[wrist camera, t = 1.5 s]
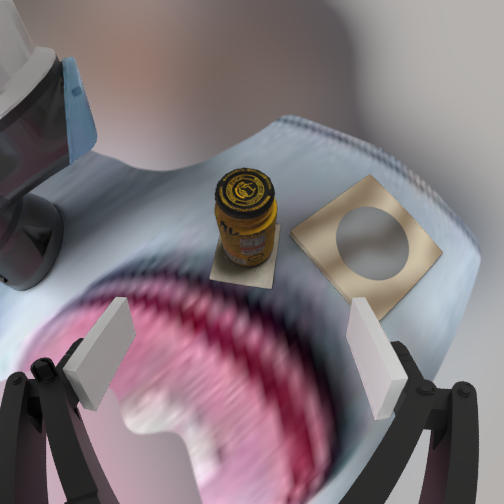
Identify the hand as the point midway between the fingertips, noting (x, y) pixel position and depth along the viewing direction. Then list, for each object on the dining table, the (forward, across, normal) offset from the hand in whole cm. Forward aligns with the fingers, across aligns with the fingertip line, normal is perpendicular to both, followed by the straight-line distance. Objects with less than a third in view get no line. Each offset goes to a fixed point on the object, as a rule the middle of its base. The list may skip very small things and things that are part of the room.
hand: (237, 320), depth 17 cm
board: (+20, +15, -3) cm, 26 cm away
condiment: (+20, 0, -4) cm, 20 cm away
